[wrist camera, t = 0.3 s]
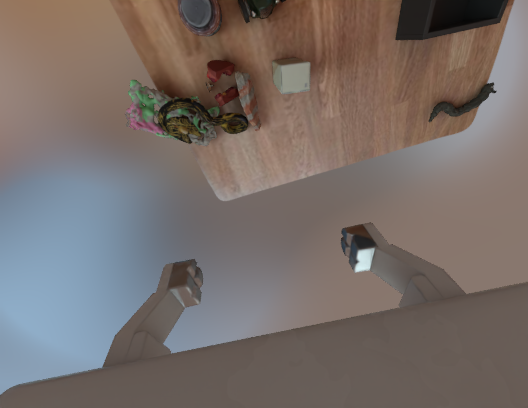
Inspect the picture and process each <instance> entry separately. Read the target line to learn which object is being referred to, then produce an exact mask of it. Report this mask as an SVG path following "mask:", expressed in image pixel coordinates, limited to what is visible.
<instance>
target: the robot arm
mask: <svg viewBox="0 0 528 408" xmlns="http://www.w3.org/2000/svg"><path fill="white" fill-rule="evenodd" d="M342 235H343V237H342V238H341V246H342V249H343V252H344V254H345V256H347V257H349V264H350V265H351V267H352V269H353V271H354V272H361V271H367V270H371V271H372V272H373V273H374V274H376V275H377V276H378V277H380V278H381V279H383V280H384V281H385V282H387V283H388V284H389V285H391V286H392V287H393V288H395V289H396V290H398V291H399V292H400V293H402V294H403V297H402V299H401V301H400V303H399V307H400V308H395V309H390V310H386V311H380V312H376V313H371V314H366V315H361V316H356V317H351V318H346V319H341V320H336V321H331V322H326V323H321V324H316V325H311V326H306V327H301V328H296V329H291V330H286V331H281V332H276V333H271V334H266V335H261V336H256V337H251V338H246V339H241V340H237V341H232V342H227V343H222V344H217V345H212V346H207V347H202V348H197V349H192V350H187V351H182V352H177V353H172V354H171V351H170V349H168V348H167V347H166V346H164V345H163V343H164V341H165V339H166V338H167V336H168V335H169V333H170V332H171V330H172V328H173V327H174V325H175V323H176V322H177V320H178V319H179V317H180V315H181V314H182V312H183V310H184V309H185V307H189V306H194V305H198V304H200V301H201V293H202V292H201V291H200V287H201V286H202V284H203V275H202V271H201V269H200V268H199V267H197V266H196V265H197V262H196V261H195V259H192V260H186V261H181V262H175V263H171V264H166V265H165V266H164V268H163V271H162V275H161V278H160V281H159V284H158V288H157V291H156V293H153V294H152V295H151V296H150V297H149V298H148V300H147V301H146V302H145V303H144V304H143V305H142V306H141V307H140V309H139V310H138V311H137V312H136V313H135V314H134V315H133V316H132V317H131V319H130V320H129V321H128V322H127V323H126V324H125V325H124V326H123V328H122V329H121V330H120V331H119V332H118V333H117V334H116V335H115V337H114V340H113V342H112V345H111V347H110V350H109V352H108V355H107V357H106V360H105V362H104V365H103V367H102V368H98V369H93V370H88V371H83V372H79V373H73V374H68V375H63V376H58V377H53V378H48V379H43V380H38V381H33V382H28V383H23V384H19V385H16V386H13V387H11V388H9V389H8V390H6V391H5V392H4V393H3V394H1V395H0V408H528V282H525V283H519V284H514V285H509V286H504V287H499V288H494V289H490V290H484V291H480V292H475V293H469V294H466V293H465V292H464V291H463V290H462V289H461V288H460V287H459V286H458V285H457V283H456V282H455V281H454V280H453V279H452V278H451V277H450V276H449V275H448V274H447V273H446V272H445V271H444V269H442V268H440V267H438V266H436V265H434V264H431V263H429V262H427V261H425V260H423V259H421V258H419V257H417V256H415V255H413V254H411V253H409V252H407V251H405V250H403V249H401V248H399V247H397V246H395V245H393V244H391V245H389V244H388V242H387V241H386V240H385V239H384V237H383V236H382V235H381V234H380V232H379V231H378V230H377V228H376V227H375V226H374V225H373V223H371V222H370V223H365V224H361V225H355V226H351V227H347V228H343V229H342Z"/></svg>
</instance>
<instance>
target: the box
mask: <svg viewBox="0 0 528 408" xmlns="http://www.w3.org/2000/svg"><path fill="white" fill-rule="evenodd" d="M272 64H273V82H274V84H275V86H276V87H277V88H278V89H279V91H280V92H281V93H282V94H289V93H296V92H303V91H309V90H310V62H307V61H304V60H301V59H298V58H288V59H280V60H273V61H272Z"/></svg>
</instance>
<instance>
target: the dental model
mask: <svg viewBox="0 0 528 408" xmlns="http://www.w3.org/2000/svg"><path fill="white" fill-rule="evenodd" d="M207 67H208V72H207V77H208V78H209V79H210V80H211V81H212V82H217V80H219V79H220V77H221V75H222V73H223V74H226V75H229V76H230V75H231V74H232V73H233V71H234V64H233V63H230V62H227V61H222V60H213V61H210V62H208V64H207ZM238 96H239V92H238V89H235V88H234V87H230V88H229V89H228V90H226V92H223V94H221V93H219V94H217V95H216V96H215V99H216V101H217V102H218V103H219V106H220V107H221V106H223V105H224V104H226V103H228V102H229V101H231V100H233V99H234V98H236V97H238Z"/></svg>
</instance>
